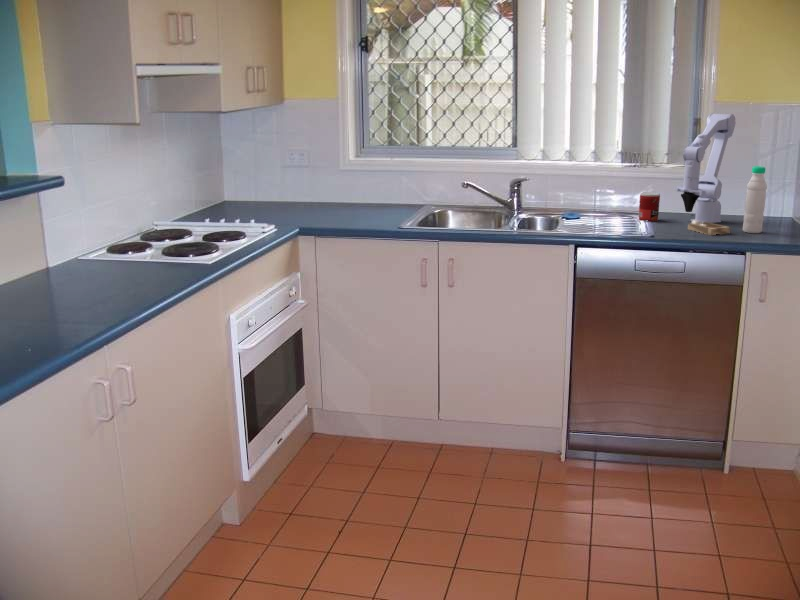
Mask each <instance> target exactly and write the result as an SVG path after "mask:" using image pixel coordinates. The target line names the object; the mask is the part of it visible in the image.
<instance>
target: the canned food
mask: <svg viewBox="0 0 800 600" xmlns="http://www.w3.org/2000/svg"><path fill="white" fill-rule="evenodd" d="M660 198H661V194H660V193H657V192H650V191H649V192H648V191H647V192H640V194H639V204H638V205H639V206H638V207H639V208H638V220H639V221H641V220H648V221H647V222H657V221H658V220H659V213H660V212H659V210H660V203H661V202H660V200H661V199H660Z"/></svg>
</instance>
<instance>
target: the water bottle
mask: <svg viewBox="0 0 800 600" xmlns="http://www.w3.org/2000/svg"><path fill="white" fill-rule="evenodd" d="M765 173H766V167H765V166H753V167H751V174H752V176H751V178H750V180H749V181H748V183H747V184H746V193H745V194H746V195H745V199H744V200H745V202H744V214H743V224H742V232H744V233H746V232H747V234H761V233H762V232H763V222H764V212H765V207H766V206H765V205H766V199H767V198H766V197H767V195H766V194H767V188H768V186H767V183H766V179H765V177H764V175H765Z"/></svg>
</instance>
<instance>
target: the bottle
mask: <svg viewBox="0 0 800 600" xmlns="http://www.w3.org/2000/svg"><path fill="white" fill-rule="evenodd" d="M690 223H692V224H697V225H701V226H705V227H709V225H705V224H703V222H702V221H698V220H693V221H691V222H690Z"/></svg>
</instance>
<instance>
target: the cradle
mask: <svg viewBox="0 0 800 600" xmlns="http://www.w3.org/2000/svg"><path fill="white" fill-rule="evenodd" d="M703 224H705V225H709V227H705V226H701V225H697V224H692V223H691V222H690V223H688V224H687V231H690V230H692V231H691V232H694V231H696V232H695V233H698V232H700V233H699V234H703V233H704V234H703V235H707V234H708V236H717V235H716V234H720V235H726V234H725V233H729V234H730V230H731V227H730V226H727V225H722V224H719V223H709V222H703Z"/></svg>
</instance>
